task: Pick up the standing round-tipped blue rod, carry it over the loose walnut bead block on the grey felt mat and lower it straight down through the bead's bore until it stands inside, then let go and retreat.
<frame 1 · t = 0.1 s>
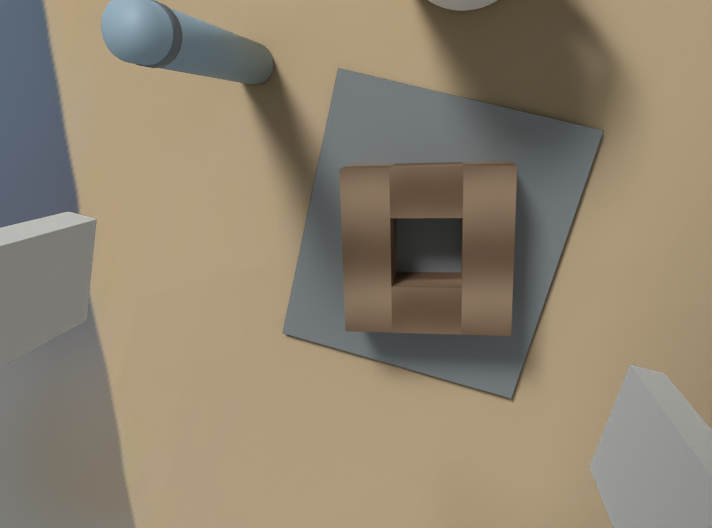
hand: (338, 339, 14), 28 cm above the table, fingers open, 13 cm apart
round-tipped blue rod: (254, 63, 40), on the table
mat: (428, 239, 41), on the table
bead: (428, 240, 41), resting on mat
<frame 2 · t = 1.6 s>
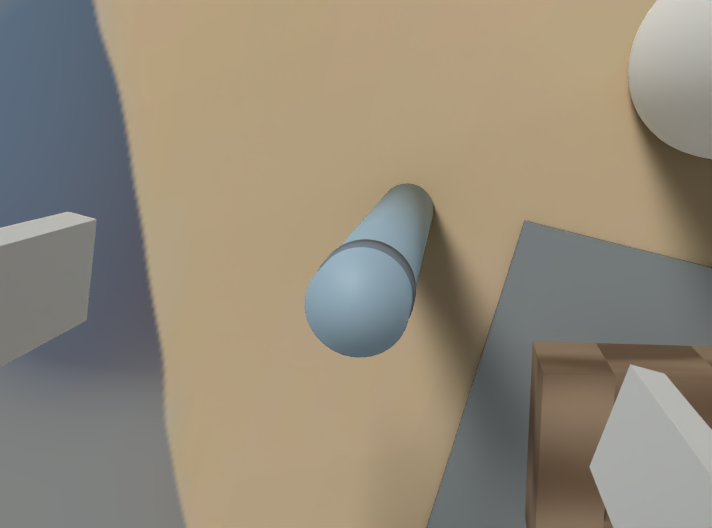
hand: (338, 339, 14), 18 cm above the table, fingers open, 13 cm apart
round-tipped blue rod: (407, 210, 30), on the table
mat: (631, 434, 31), on the table
bead: (633, 438, 31), resting on mat
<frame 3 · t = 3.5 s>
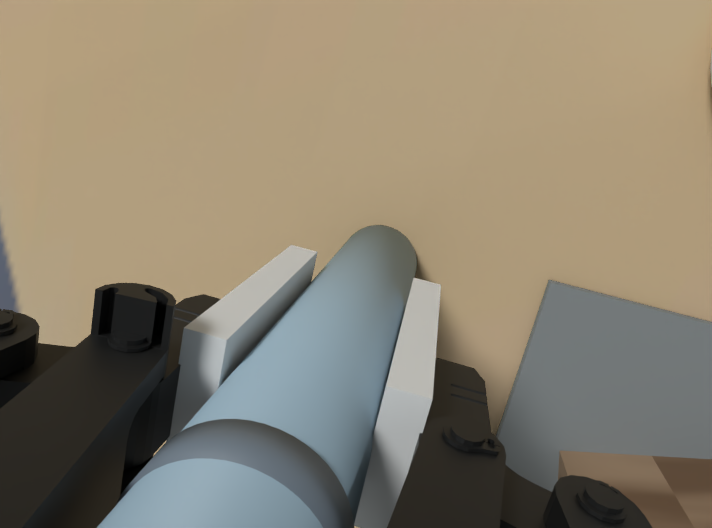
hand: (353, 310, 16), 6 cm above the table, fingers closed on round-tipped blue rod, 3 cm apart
round-tipped blue rod: (378, 262, 21), on the table, touching gripper
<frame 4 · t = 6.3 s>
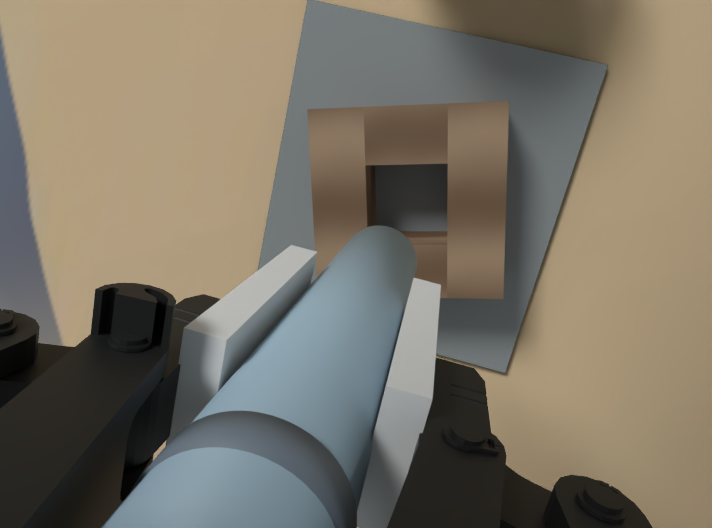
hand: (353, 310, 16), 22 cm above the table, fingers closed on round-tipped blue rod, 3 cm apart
round-tipped blue rod: (379, 262, 21), point 16 cm above the table, touching gripper
mat: (412, 195, 37), on the table
bead: (411, 195, 36), resting on mat
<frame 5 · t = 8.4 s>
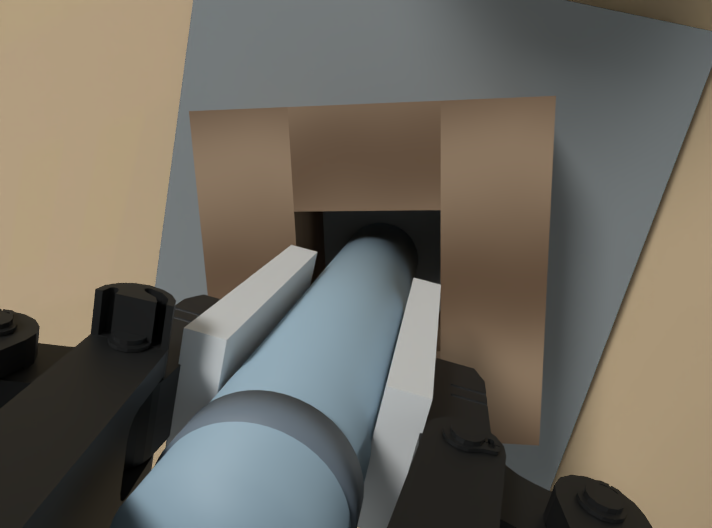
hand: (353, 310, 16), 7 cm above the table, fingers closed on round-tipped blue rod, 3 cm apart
round-tipped blue rod: (381, 258, 22), point 1 cm above the table, touching gripper
mat: (383, 251, 22), on the table
bead: (382, 253, 22), resting on mat
when the fingers open (7 cm above the table, at t = 9.4 s): round-tipped blue rod stays where it is, resting on mat.
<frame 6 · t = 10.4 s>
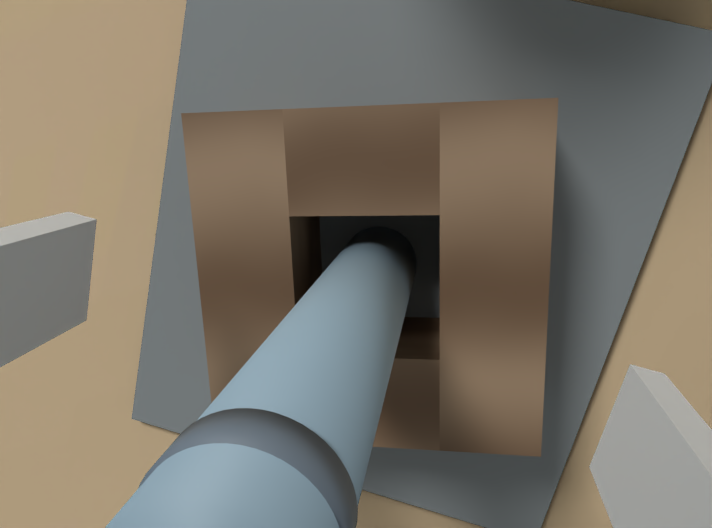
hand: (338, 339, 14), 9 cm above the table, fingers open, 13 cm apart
round-tipped blue rod: (379, 262, 22), resting on mat
mat: (381, 256, 22), on the table
bead: (380, 258, 22), resting on mat
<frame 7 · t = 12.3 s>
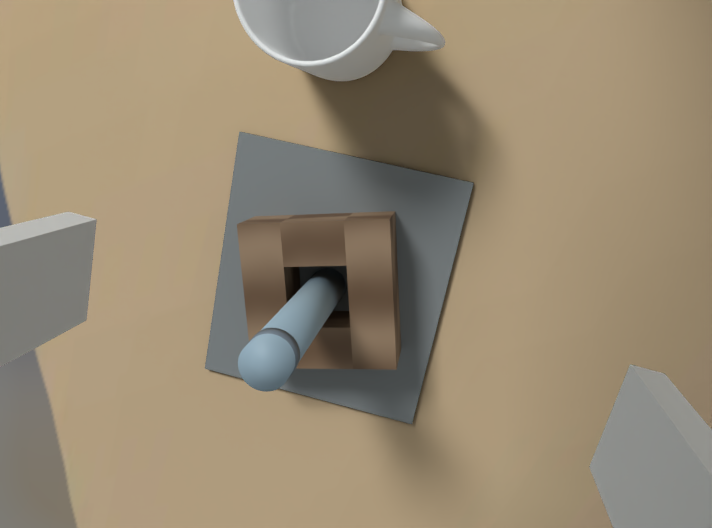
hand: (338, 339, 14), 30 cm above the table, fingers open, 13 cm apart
round-tipped blue rod: (328, 285, 45), resting on mat
mat: (329, 281, 45), on the table
bead: (328, 283, 45), resting on mat
mug: (366, 28, 41), on the table
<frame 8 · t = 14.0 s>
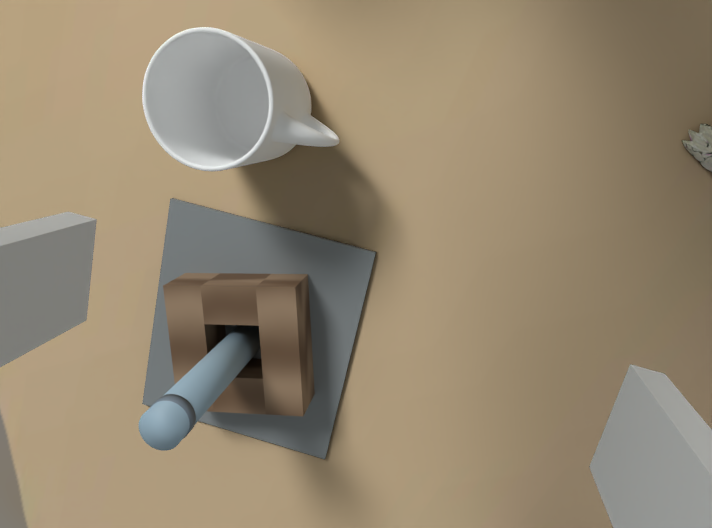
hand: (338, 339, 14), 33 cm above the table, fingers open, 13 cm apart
round-tipped blue rod: (250, 335, 50), resting on mat
mat: (252, 332, 50), on the table
bead: (250, 333, 50), resting on mat
mug: (282, 113, 45), on the table
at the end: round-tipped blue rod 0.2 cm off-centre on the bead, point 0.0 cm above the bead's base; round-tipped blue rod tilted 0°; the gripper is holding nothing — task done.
